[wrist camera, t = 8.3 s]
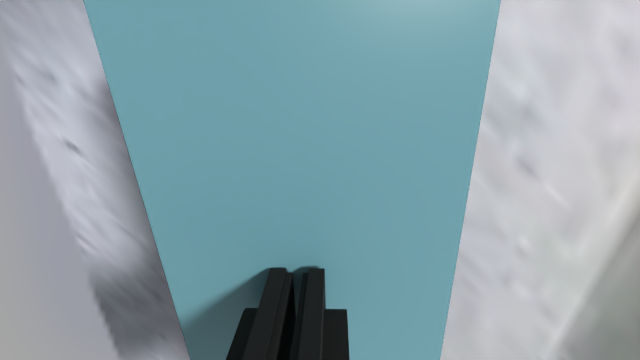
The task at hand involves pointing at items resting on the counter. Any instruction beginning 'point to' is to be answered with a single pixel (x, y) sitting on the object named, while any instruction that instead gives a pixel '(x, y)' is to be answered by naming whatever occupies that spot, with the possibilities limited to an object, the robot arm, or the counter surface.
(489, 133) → the counter surface
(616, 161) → the counter surface
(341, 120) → the panel
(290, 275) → the robot arm
